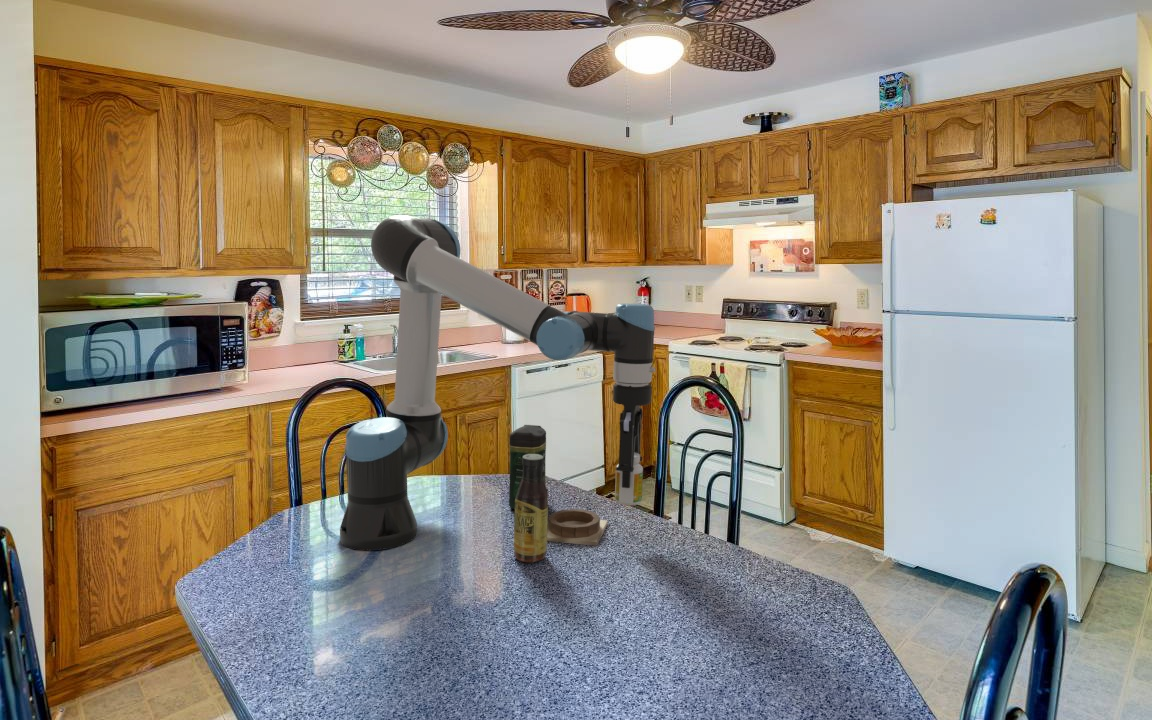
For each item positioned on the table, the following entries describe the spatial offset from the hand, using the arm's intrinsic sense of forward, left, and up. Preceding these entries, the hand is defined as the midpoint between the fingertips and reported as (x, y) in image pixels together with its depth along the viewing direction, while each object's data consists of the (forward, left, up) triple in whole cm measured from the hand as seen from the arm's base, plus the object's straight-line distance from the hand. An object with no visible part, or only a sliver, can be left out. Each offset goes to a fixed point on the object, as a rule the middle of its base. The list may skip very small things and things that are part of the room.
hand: (628, 497), depth 137 cm
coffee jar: (-26, +15, -9) cm, 31 cm away
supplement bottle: (0, 0, -1) cm, 1 cm away
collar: (-12, +2, -9) cm, 15 cm away
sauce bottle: (-17, -13, -9) cm, 23 cm away
